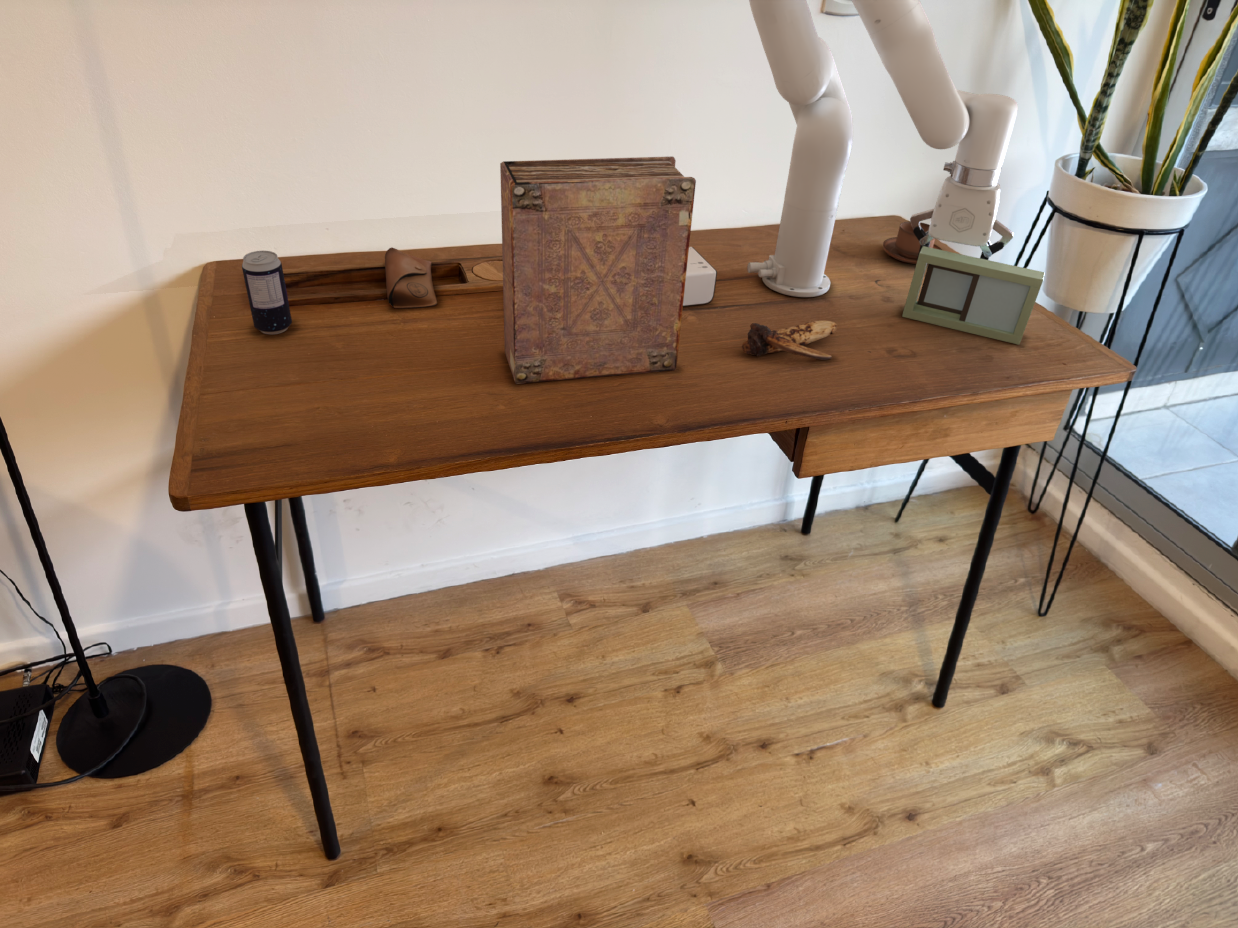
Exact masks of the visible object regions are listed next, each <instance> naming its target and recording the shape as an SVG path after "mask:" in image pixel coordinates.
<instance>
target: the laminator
mask: <svg viewBox="0 0 1238 928" xmlns="http://www.w3.org/2000/svg"><path fill="white" fill-rule="evenodd" d="M717 277H718V271H717V269H716V268H715V267H714V266H713V265H712V264H711V263H710V262H709V261H708V260H706V258H705V257H704V256H703V255H702V254H700V252H699V251H698V250H697V249H696V248H695V247H694V246H689V252H688V261H687V271H686V281H685V290H684V300H683V308H686V307H695V306H696V307H697V306H704V305H708V304H710V303H711V302H712V301H713V300H714V297H715V293H716V285H717V279H718V278H717Z"/></svg>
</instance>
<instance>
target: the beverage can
mask: <svg viewBox="0 0 1238 928" xmlns="http://www.w3.org/2000/svg"><path fill="white" fill-rule="evenodd" d="M242 260H243V261H242V265H241V269H242V270H241V271H242V273H243V279H244V284H245V290H246V294H247V299H248V305H249V309H250V314H251V318H252V323H253V327H254V328H255V329H256V330H258V331H259V332H260V333H262V334H264V335H278V334H282V333H284V332H286V331H287V330H288V328H289V327H290V326H292V323H293V319H292V315H291V308H290V303H289V297H288V296H289V295H288V292H287V286H286V281H285V273H284V268H283V264H282V261H281V259H279V257H278V253H276V252H273V251H271V250H254V251H251V252H248V253H246V254H245V255H243V257H242Z"/></svg>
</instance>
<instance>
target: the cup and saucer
mask: <svg viewBox="0 0 1238 928" xmlns="http://www.w3.org/2000/svg"><path fill="white" fill-rule="evenodd" d="M920 225H921V227H922V229H923V230H924V231H925V233H926V232H927V231H928V230H929V226H930V223H929V224H928V223H926V222H923V221H920ZM935 241H936V239H935V238H933V239H932V240H931V241H930V246H929V248H934V249H939V250H943V249H942V248H941V247H940V246H939V245H937V244H935V243H936V242H935ZM882 248H883V250H884V251H885V253H886V254H887V255H888V256H890V258H891V257H892V258H893V259H895V260H897V261H900V262H903V263H906V264H911V265H916V264H917V261H918V260H917V257H918V253H919V249H920V243H919V240H918V239H917V237H916V236H915V234H914V233H913V228H912V225H911V221H903V222H901V223H900V224H899V228H898V232H897V236H894V237H889V238H887V239H885V240H883V242H882ZM927 265H928V263H927Z"/></svg>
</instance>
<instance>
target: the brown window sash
mask: <svg viewBox="0 0 1238 928" xmlns="http://www.w3.org/2000/svg"><path fill="white" fill-rule="evenodd" d="M973 275H974V274H973V273H969V272H964V271H960V270H955V269H951V268H946V267H941V266H937V265H932V264H927V267H926V270H925V274H924V277H923V281H922V284H921V288H920V291H919V295H918V298H917V301H918V303H917V305H922V306H926V307H930V308H934V309H939V310H943V311H947V312H951V313H956V314H960V315H961V312H962V309H963V306H964V303H965V300H966V297H967V294H968V291H969V287H970V284H971V281H972V278H973Z"/></svg>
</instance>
